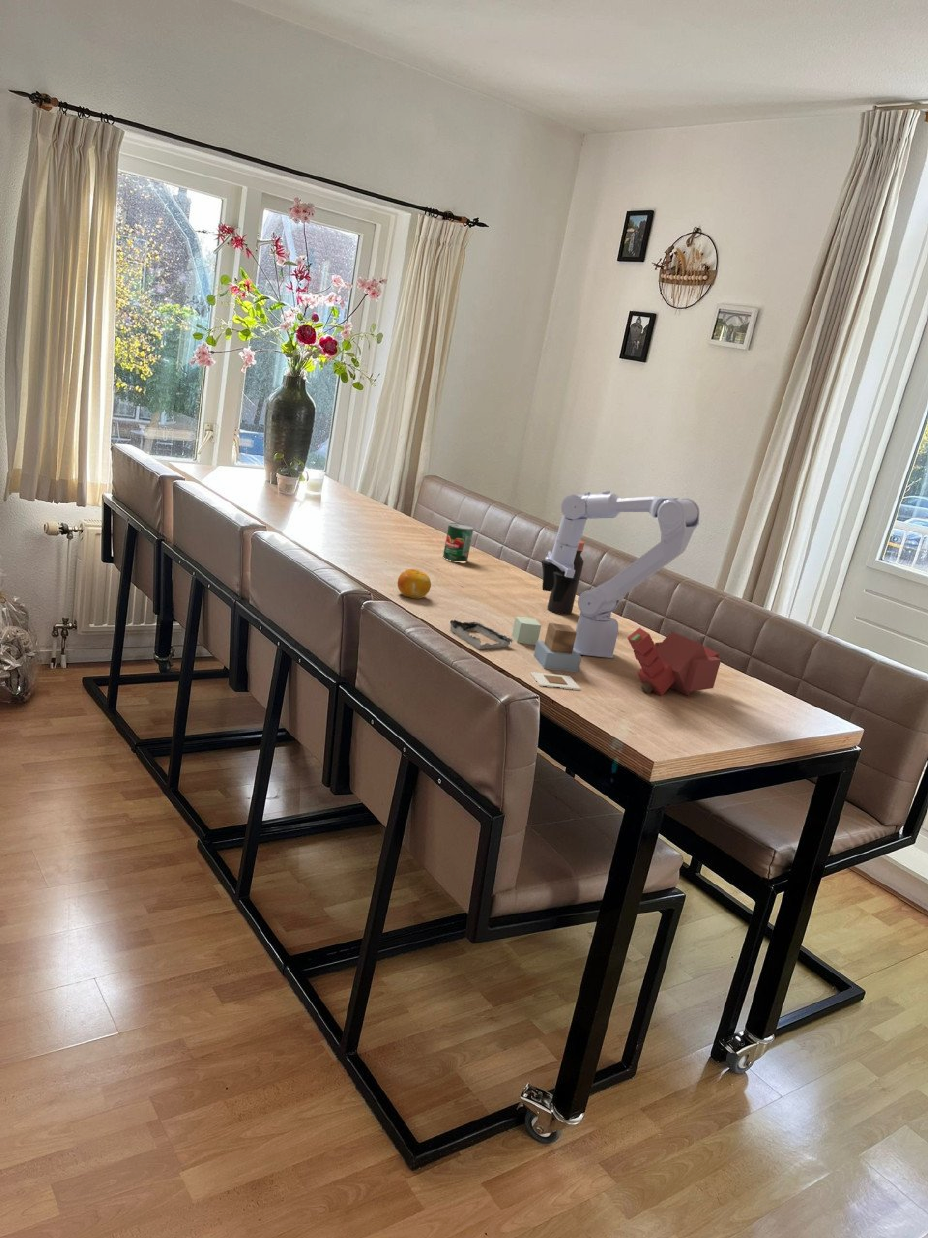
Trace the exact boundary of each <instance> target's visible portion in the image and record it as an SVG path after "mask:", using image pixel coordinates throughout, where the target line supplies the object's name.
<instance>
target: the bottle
mask: <svg viewBox="0 0 928 1238" xmlns="http://www.w3.org/2000/svg"><path fill="white" fill-rule="evenodd" d="M584 545H585V542H584V541H583V540H580V543H579V546H578V549H577V553H576V556H575V559H574V570H575V574H574V577H576V578H577V581H576V582H575V583H574V584H573V585H572V586H571V587H570V588H569V589H568V591H567V592H566V594H565V596H564V597H563V599H562V601H561V602H555V601H552V594H553V589H554V586H553V589H552V590H551V592H550V595H549V600H548V604H547V610H548V611H550V612H551V611H552V612H551V613H554V614H558V615H563V616H564V615H565V616H569V615H571V614H573V610H574V606H575V601H576V596H577V592H578V588H579V583H580V580H581V579H580V578H581V574H582V570H583V565H584V560H583V557H582V556H581V553H583V550H584ZM560 573H562V571H561V572H560Z"/></svg>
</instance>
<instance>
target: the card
mask: <svg viewBox="0 0 928 1238" xmlns="http://www.w3.org/2000/svg"><path fill="white" fill-rule="evenodd" d="M530 675H531V676H532V678H533V679H534V678H535V679H534V681H535V680H536V681H537V682H536V681H535V682H536V683H537V685H538V686H539V685H540V686H539V687H543V686H547V687H546V688H553V687H560V688H559V689H563V688H564V689H565V690H572V689H573V690H574V691H581V687H580V686H579V685H578V684H577V683H576V682H575V680H574V679H573V678H572V677H571V676H570V675H564V674H563V675H562V674H552V673H542V672H534V671H532V672H530Z"/></svg>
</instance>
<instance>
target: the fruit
mask: <svg viewBox="0 0 928 1238" xmlns="http://www.w3.org/2000/svg"><path fill="white" fill-rule="evenodd" d="M397 587H398V591H400V593H401V594H402V595H403V596H404V597H406V598H410V599H422V598H424V597H426V595H428V594H429V592H430V591H431V588H432V582H431V579H430V577H429V576H428V575H427V574H426V573H425V572H423V571H421V570H419V569H414V568H408V569H405V570H404V571H403V572H401V573H400V575H399V577H398V580H397Z"/></svg>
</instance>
